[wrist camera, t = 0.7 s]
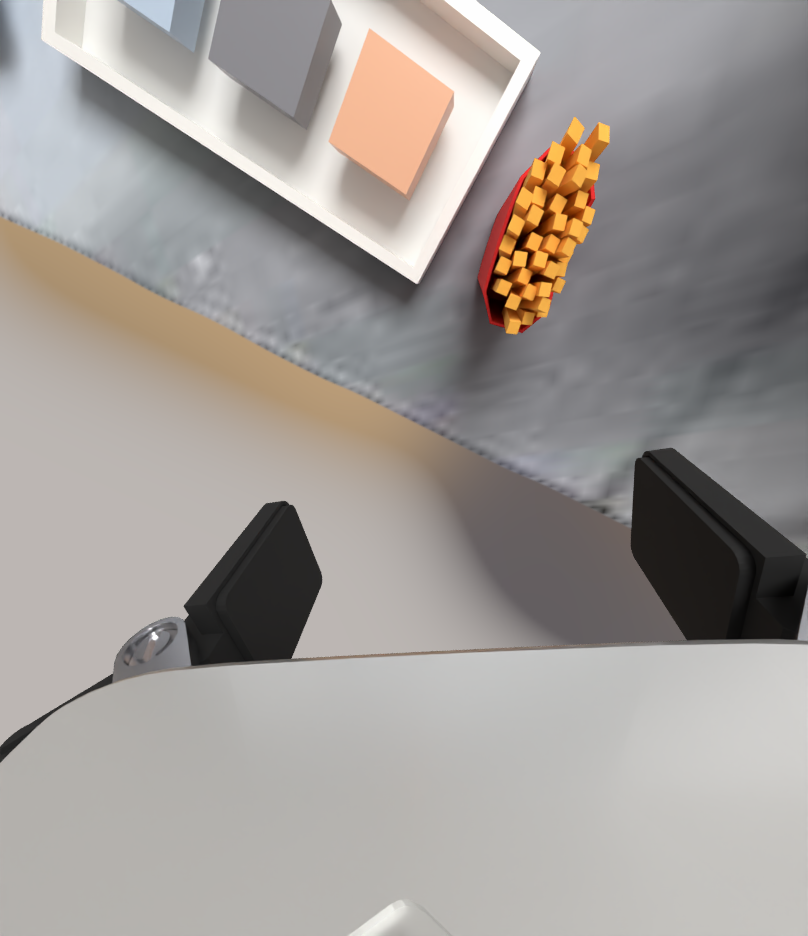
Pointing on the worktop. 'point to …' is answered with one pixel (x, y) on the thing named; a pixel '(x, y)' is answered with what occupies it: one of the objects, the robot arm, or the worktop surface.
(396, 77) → the terracotta key
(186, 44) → the dusty blue key
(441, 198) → the white rectangular tray
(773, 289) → the worktop surface
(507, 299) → the french fries
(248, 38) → the charcoal key
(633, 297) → the worktop surface
